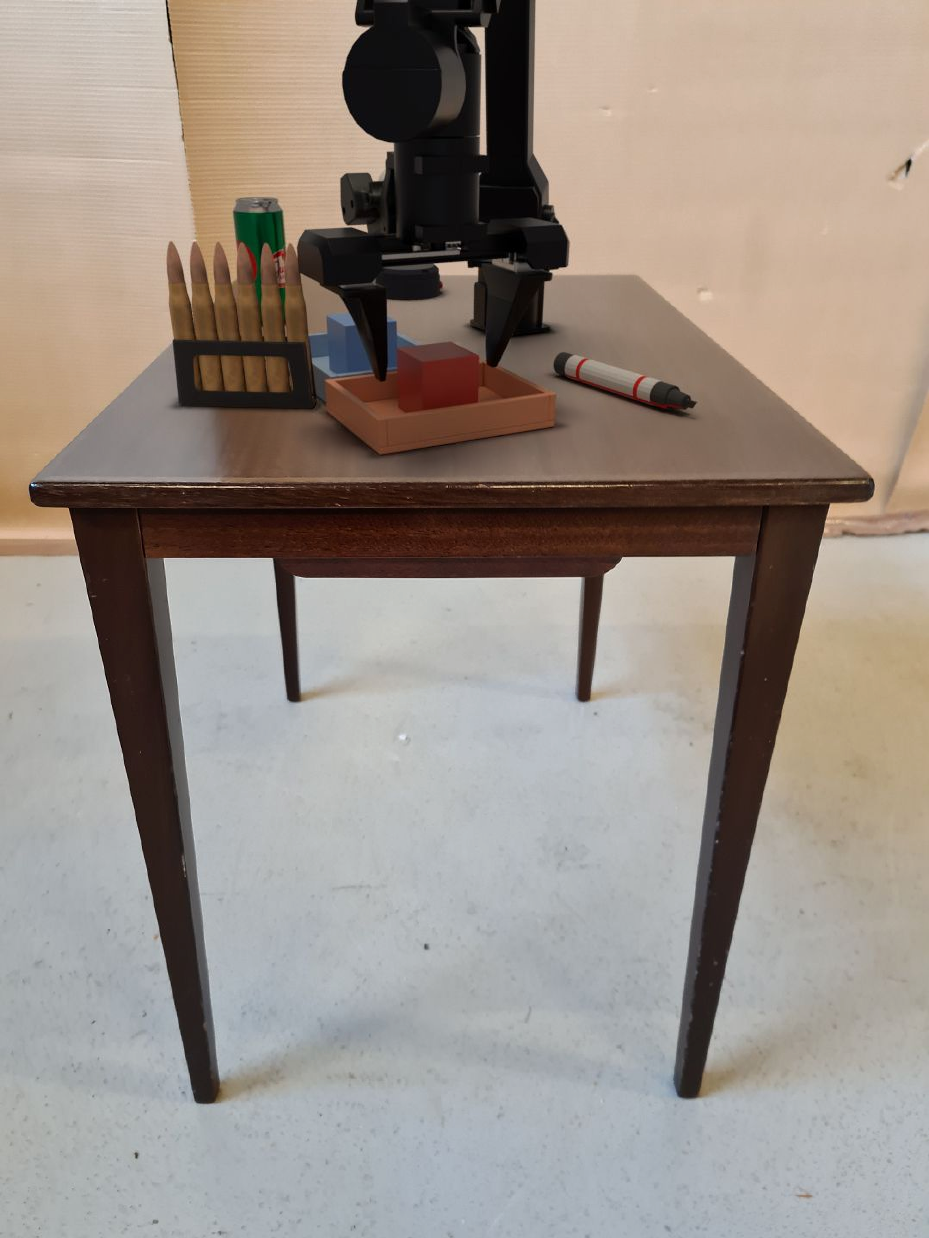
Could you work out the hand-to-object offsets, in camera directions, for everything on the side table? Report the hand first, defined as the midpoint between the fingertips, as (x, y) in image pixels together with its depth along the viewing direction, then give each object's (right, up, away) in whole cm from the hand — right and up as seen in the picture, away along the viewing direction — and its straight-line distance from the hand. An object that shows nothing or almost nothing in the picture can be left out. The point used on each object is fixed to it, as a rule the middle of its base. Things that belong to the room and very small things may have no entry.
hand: (437, 373), depth 67 cm
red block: (0, -2, +2) cm, 3 cm away
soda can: (-19, +14, +30) cm, 38 cm away
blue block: (-7, +3, +11) cm, 13 cm away
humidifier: (-5, +22, +44) cm, 50 cm away
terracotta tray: (0, -3, +2) cm, 4 cm away
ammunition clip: (-15, -1, +5) cm, 16 cm away
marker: (+15, 0, +8) cm, 17 cm away
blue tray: (-7, +3, +11) cm, 14 cm away
